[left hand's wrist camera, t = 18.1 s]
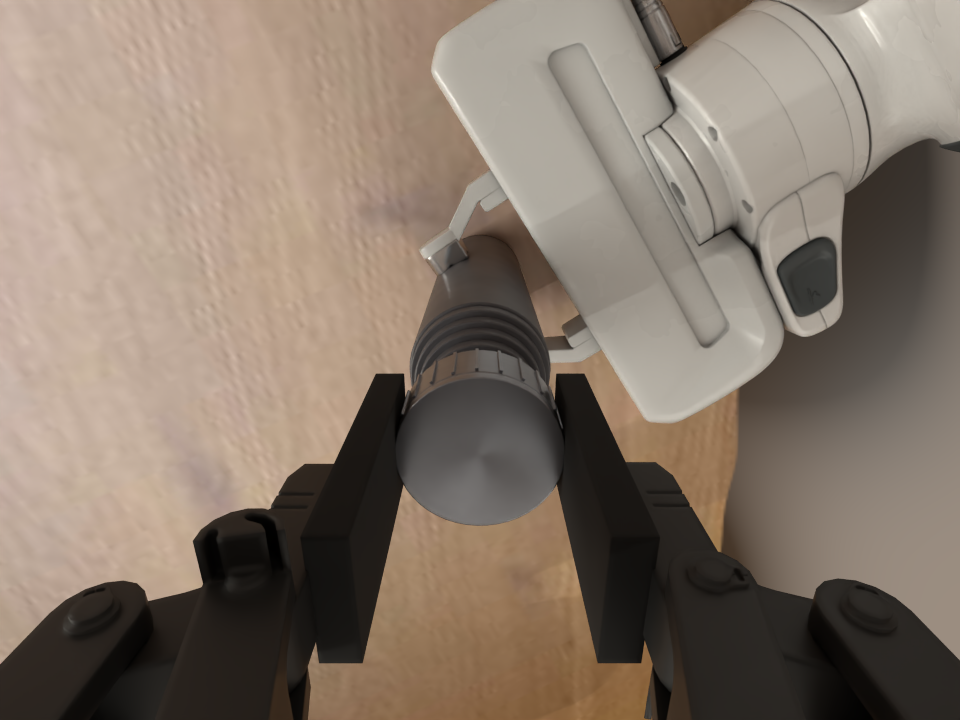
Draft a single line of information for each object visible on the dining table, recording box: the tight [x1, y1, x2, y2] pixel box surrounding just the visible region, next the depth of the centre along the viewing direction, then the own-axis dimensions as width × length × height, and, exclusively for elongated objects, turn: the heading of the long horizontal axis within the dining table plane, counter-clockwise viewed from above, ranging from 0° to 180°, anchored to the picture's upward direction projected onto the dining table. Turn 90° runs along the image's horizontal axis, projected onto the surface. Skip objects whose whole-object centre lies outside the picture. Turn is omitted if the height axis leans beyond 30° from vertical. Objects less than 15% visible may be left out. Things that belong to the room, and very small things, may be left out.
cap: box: [395, 348, 565, 526], centre depth 14 cm, size 4×4×2 cm
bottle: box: [410, 235, 550, 387], centre depth 23 cm, size 5×5×20 cm
